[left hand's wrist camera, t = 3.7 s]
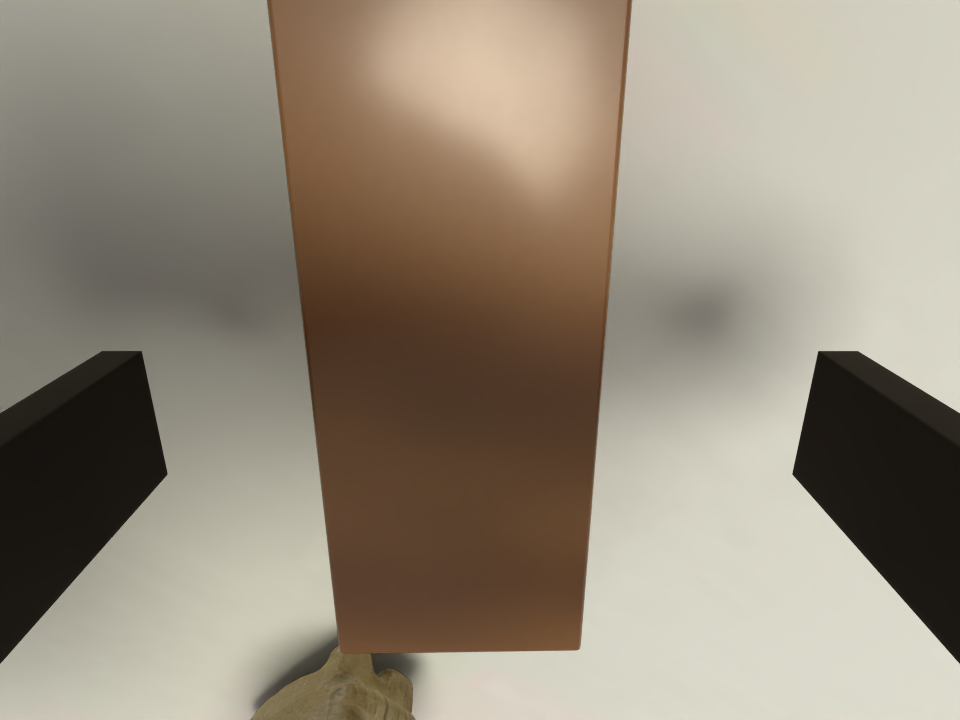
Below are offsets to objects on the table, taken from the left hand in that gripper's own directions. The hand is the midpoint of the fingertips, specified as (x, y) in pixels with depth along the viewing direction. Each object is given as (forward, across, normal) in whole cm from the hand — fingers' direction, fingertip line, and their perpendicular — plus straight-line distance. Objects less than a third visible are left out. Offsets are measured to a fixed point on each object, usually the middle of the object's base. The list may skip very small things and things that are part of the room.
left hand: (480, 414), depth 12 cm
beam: (+7, +1, -20) cm, 21 cm away
